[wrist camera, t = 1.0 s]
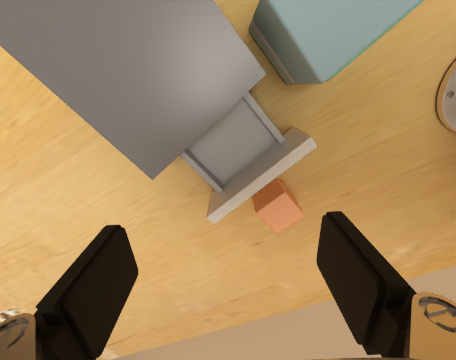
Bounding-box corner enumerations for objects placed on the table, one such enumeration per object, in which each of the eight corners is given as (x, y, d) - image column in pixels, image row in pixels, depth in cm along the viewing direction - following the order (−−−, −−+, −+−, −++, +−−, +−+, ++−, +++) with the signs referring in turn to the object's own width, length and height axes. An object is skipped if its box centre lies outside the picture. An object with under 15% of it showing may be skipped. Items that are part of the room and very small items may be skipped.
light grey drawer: (299, 134, 29) (317, 146, 23) (216, 199, 33) (214, 224, 27) (215, 20, 24) (212, -1, 18) (129, 116, 28) (103, 124, 22)
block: (294, 198, 35) (305, 215, 30) (270, 215, 36) (276, 234, 31) (276, 177, 33) (284, 192, 28) (252, 196, 34) (255, 213, 30)
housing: (253, 78, 27) (266, 74, 18) (174, 152, 31) (152, 179, 22) (143, -69, 22) (83, -182, 12) (64, 45, 26) (-26, 22, 16)
